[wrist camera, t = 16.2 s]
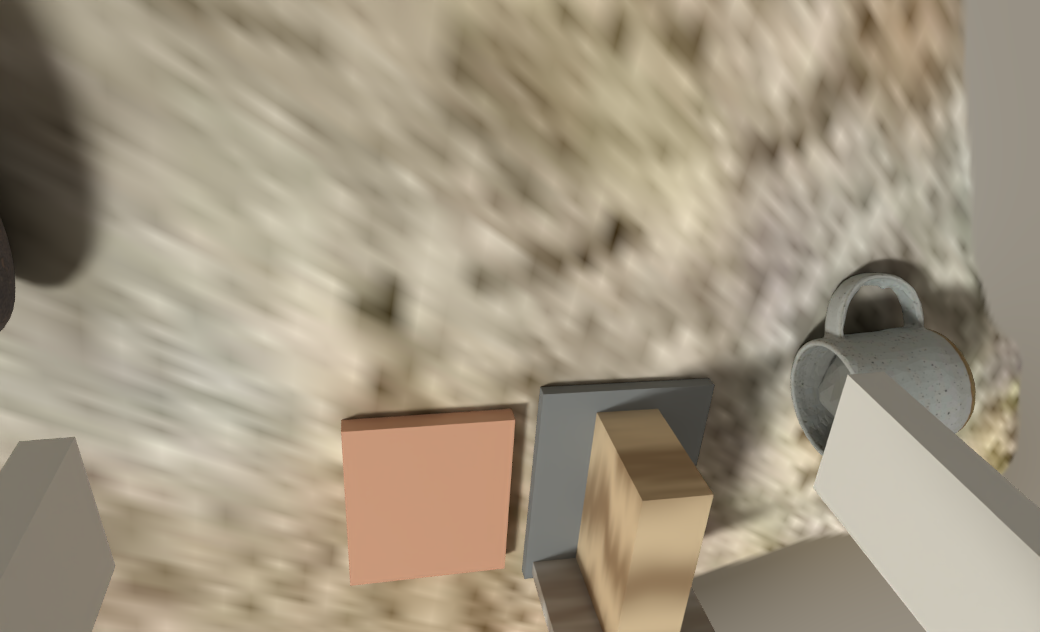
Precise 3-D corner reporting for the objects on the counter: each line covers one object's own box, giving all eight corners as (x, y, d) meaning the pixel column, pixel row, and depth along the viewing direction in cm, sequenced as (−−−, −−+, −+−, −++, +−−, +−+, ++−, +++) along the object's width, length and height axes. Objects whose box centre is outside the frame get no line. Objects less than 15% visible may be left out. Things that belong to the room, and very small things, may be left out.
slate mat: (540, 387, 44) (543, 394, 43) (709, 378, 46) (714, 385, 46) (522, 570, 51) (524, 578, 50) (670, 554, 53) (674, 562, 53)
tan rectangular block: (549, 415, 44) (587, 506, 37) (702, 406, 46) (765, 490, 39) (532, 573, 50) (561, 676, 43) (668, 558, 52) (718, 654, 45)
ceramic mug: (893, 397, 51) (976, 466, 44) (783, 419, 49) (852, 493, 43) (920, 255, 46) (1018, 309, 39) (799, 276, 45) (879, 335, 38)
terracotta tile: (341, 432, 41) (350, 585, 47) (515, 419, 43) (504, 568, 49) (341, 415, 43) (350, 566, 48) (509, 404, 45) (500, 550, 50)
